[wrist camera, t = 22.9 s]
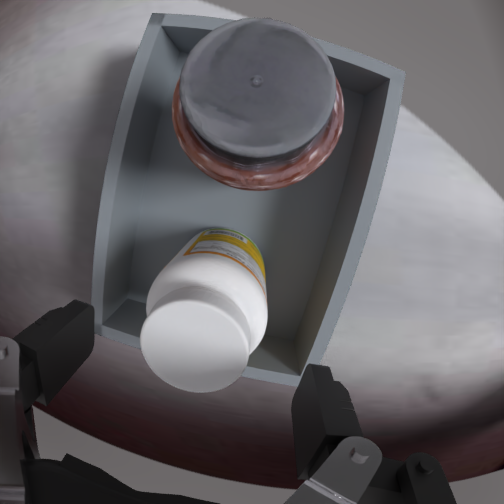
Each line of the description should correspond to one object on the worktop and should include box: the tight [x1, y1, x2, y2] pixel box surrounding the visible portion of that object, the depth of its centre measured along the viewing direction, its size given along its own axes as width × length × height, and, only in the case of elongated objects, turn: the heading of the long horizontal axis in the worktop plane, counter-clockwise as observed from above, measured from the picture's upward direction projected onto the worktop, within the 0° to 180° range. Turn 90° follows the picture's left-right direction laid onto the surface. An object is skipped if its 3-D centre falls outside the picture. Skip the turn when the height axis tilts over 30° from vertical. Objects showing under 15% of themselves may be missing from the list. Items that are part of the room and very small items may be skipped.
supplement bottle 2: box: [140, 228, 268, 393], centre depth 15 cm, size 5×5×10 cm
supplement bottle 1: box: [172, 18, 344, 191], centre depth 12 cm, size 6×6×11 cm
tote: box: [91, 13, 406, 387], centre depth 17 cm, size 14×19×5 cm
